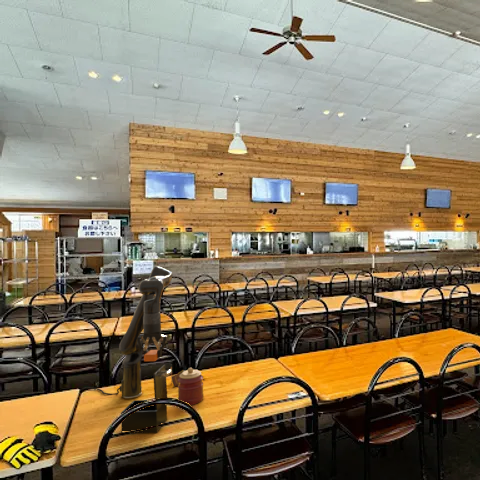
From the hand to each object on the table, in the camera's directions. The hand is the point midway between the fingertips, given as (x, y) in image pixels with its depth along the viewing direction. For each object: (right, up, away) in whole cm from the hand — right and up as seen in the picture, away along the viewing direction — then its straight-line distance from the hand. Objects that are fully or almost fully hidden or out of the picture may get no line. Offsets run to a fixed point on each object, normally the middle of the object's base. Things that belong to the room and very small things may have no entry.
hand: (152, 357), depth 178 cm
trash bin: (-2, -31, -3) cm, 31 cm away
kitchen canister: (+10, -31, +25) cm, 41 cm away
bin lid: (+4, -13, -2) cm, 14 cm away
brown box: (-1, -31, +50) cm, 59 cm away
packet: (0, 0, 0) cm, 0 cm away
